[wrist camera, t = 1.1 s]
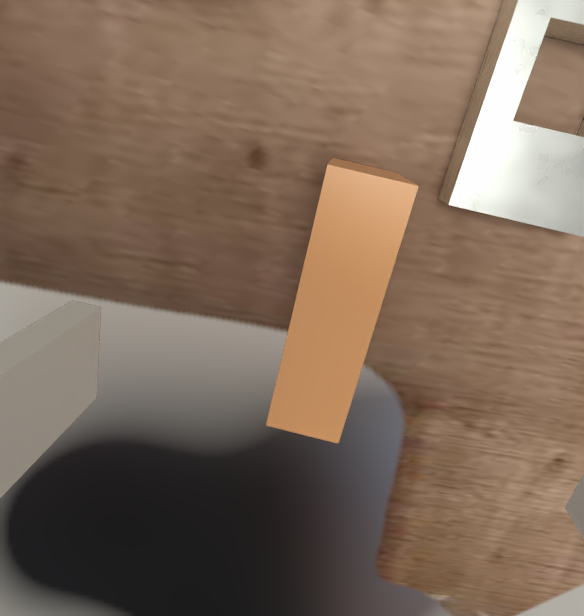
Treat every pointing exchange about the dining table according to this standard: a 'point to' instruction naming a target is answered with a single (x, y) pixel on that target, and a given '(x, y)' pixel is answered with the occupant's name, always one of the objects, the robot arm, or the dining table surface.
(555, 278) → the dining table surface
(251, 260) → the dining table surface
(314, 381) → the tan notched block
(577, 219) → the grey slotted block
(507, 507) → the dining table surface
